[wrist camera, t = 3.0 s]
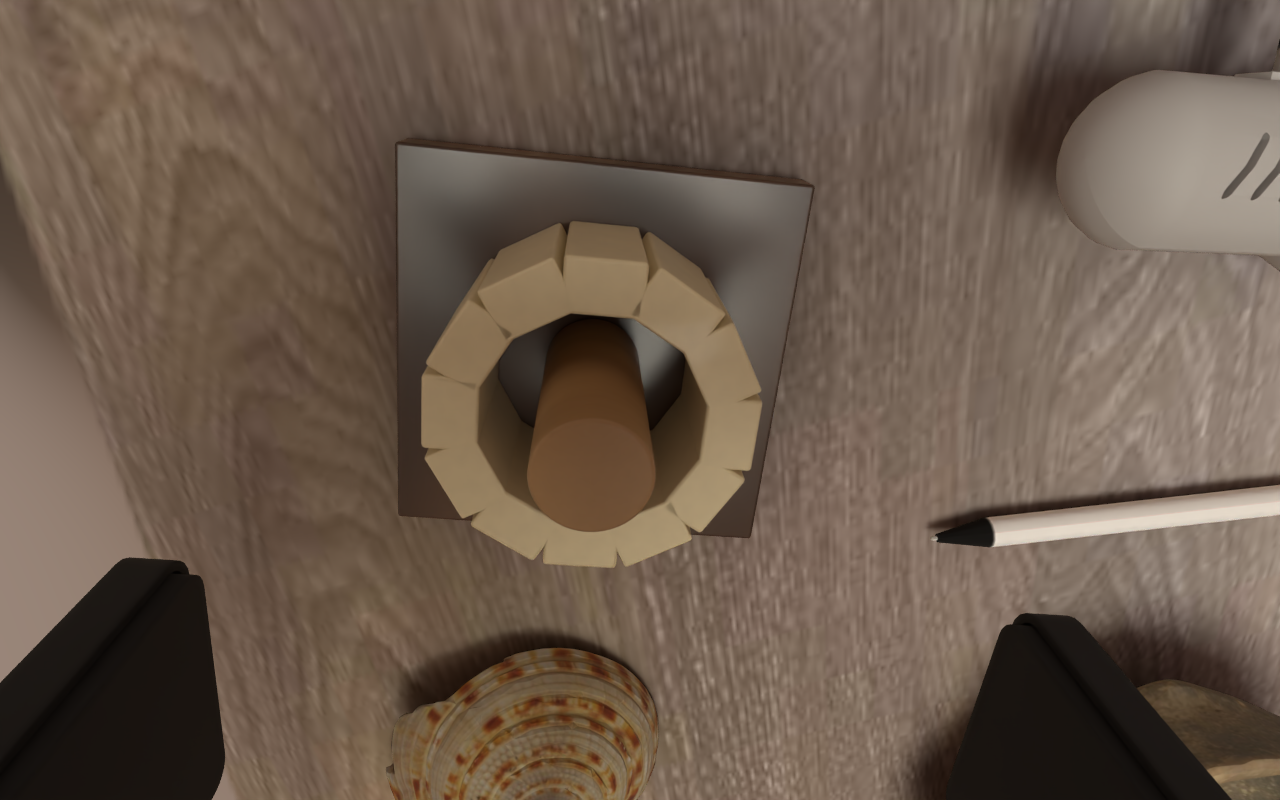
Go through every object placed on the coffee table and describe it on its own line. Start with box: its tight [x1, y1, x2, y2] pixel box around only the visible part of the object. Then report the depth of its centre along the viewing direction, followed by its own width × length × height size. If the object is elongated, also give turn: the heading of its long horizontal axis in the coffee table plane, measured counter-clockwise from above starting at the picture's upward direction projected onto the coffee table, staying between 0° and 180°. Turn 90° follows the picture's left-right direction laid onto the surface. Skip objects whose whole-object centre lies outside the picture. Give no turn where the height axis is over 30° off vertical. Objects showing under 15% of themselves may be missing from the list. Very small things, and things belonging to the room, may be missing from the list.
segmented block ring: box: [421, 221, 762, 568], centre depth 19 cm, size 7×7×4 cm
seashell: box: [386, 648, 659, 800], centre depth 26 cm, size 8×6×8 cm
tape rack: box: [395, 138, 815, 538], centre depth 18 cm, size 10×10×8 cm
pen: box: [930, 485, 1280, 547], centre depth 24 cm, size 1×19×1 cm, turn 96°
